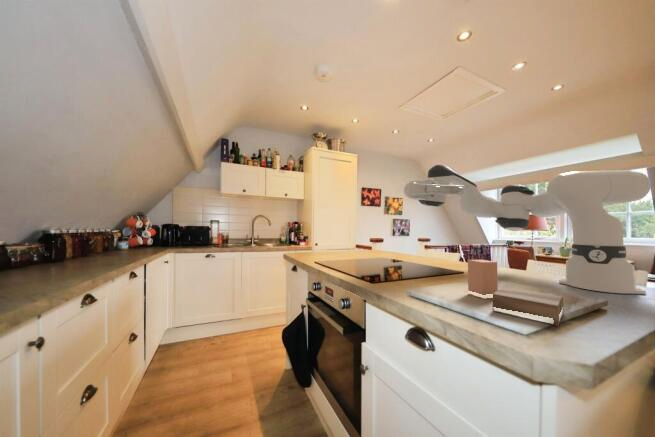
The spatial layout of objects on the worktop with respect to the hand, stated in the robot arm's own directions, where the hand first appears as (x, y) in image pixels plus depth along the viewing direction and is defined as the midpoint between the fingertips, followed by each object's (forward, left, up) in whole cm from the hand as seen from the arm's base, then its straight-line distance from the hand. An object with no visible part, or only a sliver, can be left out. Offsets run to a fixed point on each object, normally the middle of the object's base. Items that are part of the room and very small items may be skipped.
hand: (449, 189), depth 86 cm
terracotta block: (+11, +13, -33) cm, 37 cm away
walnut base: (+18, +24, -33) cm, 44 cm away
